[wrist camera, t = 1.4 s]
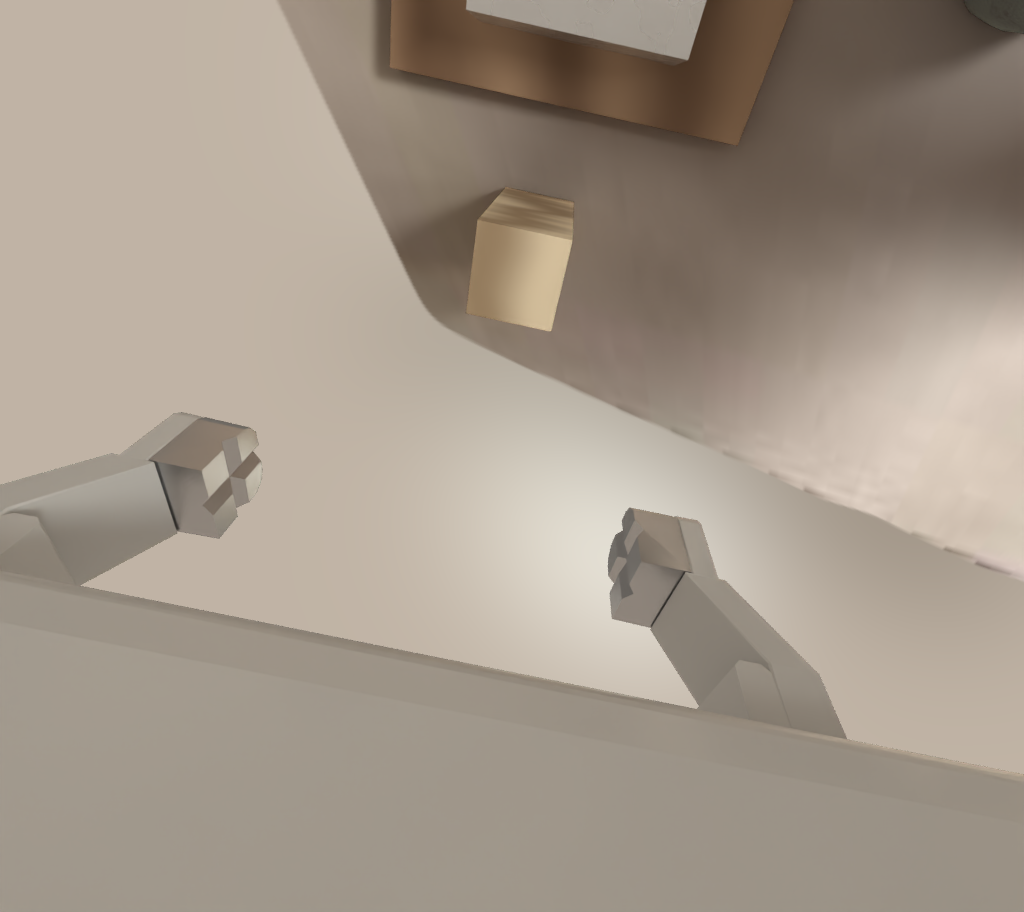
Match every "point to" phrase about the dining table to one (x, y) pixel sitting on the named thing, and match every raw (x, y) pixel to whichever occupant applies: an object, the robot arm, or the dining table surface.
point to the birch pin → (520, 258)
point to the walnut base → (601, 65)
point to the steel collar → (604, 23)
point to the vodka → (999, 13)
